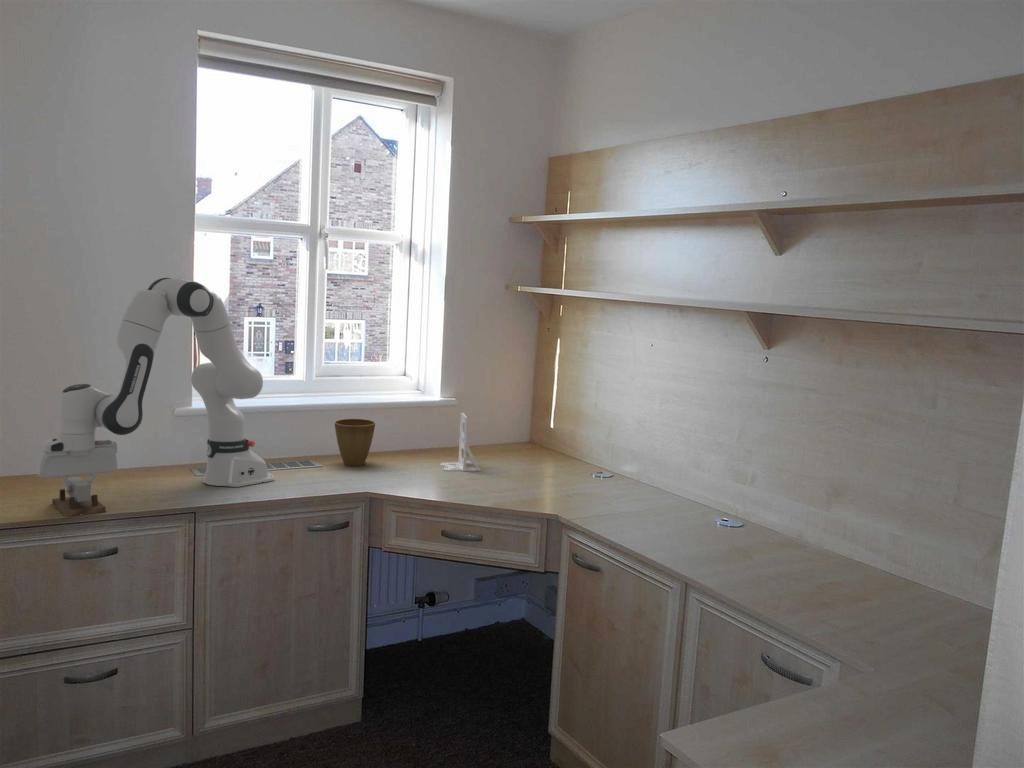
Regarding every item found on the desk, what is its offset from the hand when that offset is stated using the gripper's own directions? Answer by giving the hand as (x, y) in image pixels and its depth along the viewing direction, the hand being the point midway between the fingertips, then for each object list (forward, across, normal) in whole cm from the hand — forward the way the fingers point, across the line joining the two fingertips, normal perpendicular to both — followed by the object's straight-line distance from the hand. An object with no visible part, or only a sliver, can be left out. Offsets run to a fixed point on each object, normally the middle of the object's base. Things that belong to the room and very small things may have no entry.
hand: (78, 490), depth 238 cm
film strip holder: (+5, -129, +8) cm, 129 cm away
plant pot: (+5, -97, -15) cm, 98 cm away
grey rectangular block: (+2, 0, 0) cm, 2 cm away
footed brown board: (+5, 0, 0) cm, 5 cm away
